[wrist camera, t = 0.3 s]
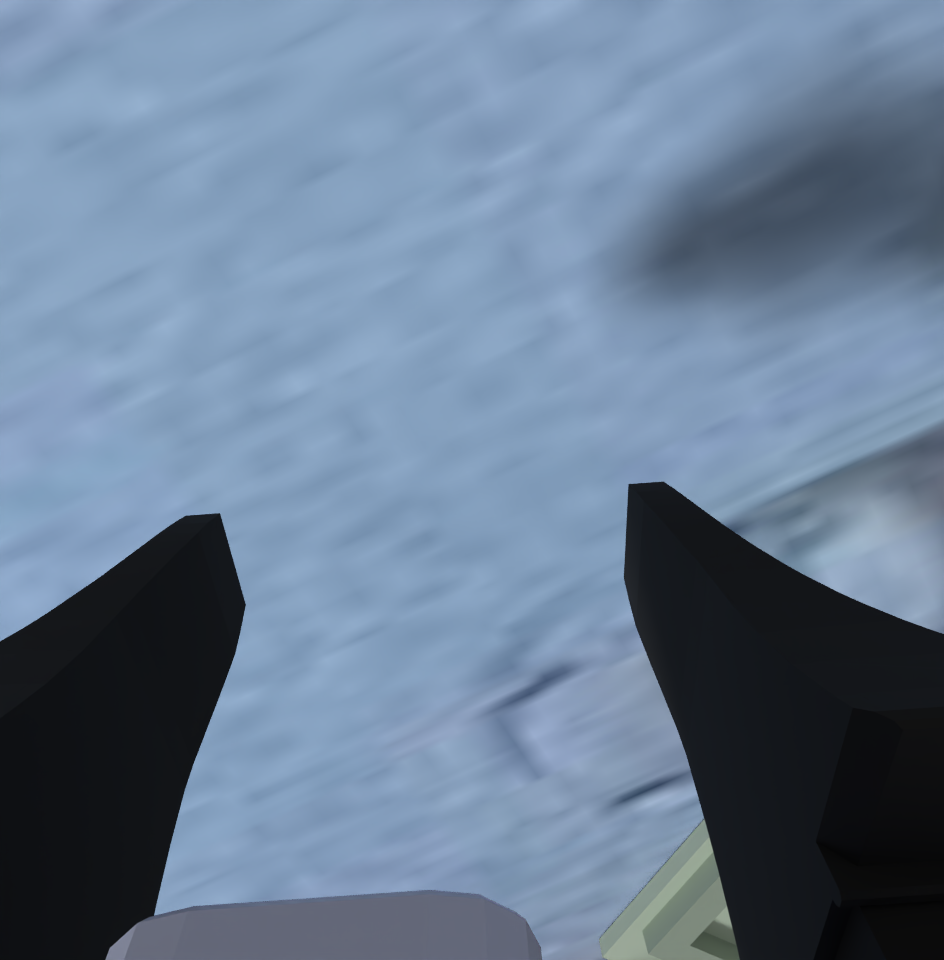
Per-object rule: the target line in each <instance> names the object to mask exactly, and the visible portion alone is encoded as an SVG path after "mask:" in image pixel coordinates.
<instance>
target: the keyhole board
mask: <svg viewBox="0 0 944 960" xmlns="http://www.w3.org/2000/svg"><path fill="white" fill-rule="evenodd" d="M599 942H600V947H601V953H602V957H603V958H605V959H608V960H740V959H739V954H738V950H737V945H736V941H735V937H734V933H733V929H732V925H731V921H730V917H729V912H728V908H727V904H726V900H725V896H724V892H723V888H722V884H721V880H720V876H719V872H718V868H717V864H716V860H715V857H714V853H713V849H712V845H711V842H710V838H709V834H708V830H707V827H706V823H705V819H704V820H703V821H702V822H701V823H700V824H699V826H698V827H697V828H696V829H695V830H694V831H693V832H692V834H691V835H690V836H689V837H688V838H687V839H686V840H685V842H684V843H683V844H682V845H681V846H680V847H679V848H678V850H677V851H676V852H675V853H674V854H673V855H672V856H671V858H670V859H669V860H668V861H667V862H666V863H665V864H664V866H663V867H662V868H661V869H660V870H659V871H658V872H657V874H656V875H655V876H654V877H653V878H652V879H651V880H650V882H649V883H648V884H647V885H646V886H645V887H644V888H643V890H642V891H641V892H640V893H639V894H638V895H637V896H636V898H635V899H634V900H633V901H632V902H631V903H630V904H629V906H628V907H627V908H626V909H625V910H624V911H623V912H622V914H621V915H620V916H619V917H618V918H617V919H616V920H615V922H614V923H613V924H612V925H611V926H610V927H609V928H608V930H607V931H606V932H605V933H604V934H603V935H602V936H601V938H600V939H599Z"/></svg>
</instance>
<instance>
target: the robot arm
mask: <svg viewBox="0 0 944 960" xmlns="http://www.w3.org/2000/svg"><path fill="white" fill-rule="evenodd" d="M624 581H625V585H626V589H627V593H628V597H629V602H630V606H631V609H632V613H633V617H634V621H635V625H636V628H637V630H638V633H639V635H640V638H641V641H642V643H643V646H644V648H645V651H646V653H647V656H648V658H649V661H650V663H651V666H652V668H653V671H654V673H655V675H656V678H657V680H658V683H659V685H660V688H661V690H662V693H663V695H664V698H665V700H666V703H667V705H668V708H669V710H670V712H671V715H672V717H673V720H674V722H675V725H676V727H677V730H678V732H679V735H680V738H681V741H682V744H683V747H684V749H685V752H686V755H687V759H688V762H689V766H690V769H691V773H692V776H693V780H694V783H695V787H696V790H697V794H698V797H699V801H700V804H701V808H702V812H703V815H704V819H705V823H706V827H707V830H708V834H709V838H710V842H711V845H712V849H713V853H714V857H715V860H716V864H717V868H718V872H719V876H720V880H721V884H722V888H723V892H724V896H725V900H726V904H727V908H728V912H729V917H730V921H731V925H732V929H733V933H734V937H735V941H736V945H737V950H738V954H739V959H740V960H944V634H942V633H939V632H936V631H933V630H930V629H927V628H924V627H922V626H919V625H916V624H913V623H911V622H908V621H905V620H902V619H900V618H897V617H895V616H893V615H890V614H888V613H885V612H883V611H880V610H878V609H875V608H873V607H871V606H868V605H866V604H863V603H861V602H859V601H856V600H854V599H852V598H850V597H848V596H845V595H843V594H841V593H839V592H837V591H835V590H833V589H831V588H829V587H827V586H825V585H823V584H821V583H819V582H817V581H815V580H813V579H811V578H809V577H807V576H805V575H803V574H801V573H800V572H798V571H796V570H794V569H792V568H791V567H789V566H787V565H785V564H784V563H782V562H780V561H779V560H777V559H775V558H774V557H772V556H770V555H769V554H767V553H765V552H764V551H762V550H761V549H759V548H757V547H756V546H754V545H753V544H751V543H750V542H748V541H747V540H745V539H743V538H742V537H741V536H739V535H738V534H736V533H735V532H733V531H732V530H730V529H729V528H727V527H726V526H725V525H723V524H722V523H720V522H719V521H717V520H716V519H715V518H713V517H712V516H710V515H709V514H708V513H706V512H705V511H704V510H702V509H701V508H700V507H698V506H697V505H695V504H694V503H693V502H691V501H690V500H689V499H687V498H686V497H685V496H683V495H682V494H681V493H679V492H678V491H676V490H675V489H674V488H672V487H671V486H669V485H668V484H666V483H665V482H652V483H638V484H629V487H628V507H627V527H626V547H625V567H624ZM245 606H246V604H245V601H244V597H243V594H242V590H241V587H240V583H239V580H238V576H237V572H236V569H235V565H234V562H233V558H232V555H231V551H230V547H229V544H228V540H227V537H226V533H225V530H224V526H223V523H222V519H221V515H220V513H218V514H204V515H190V516H185V517H183V518H181V519H179V520H178V521H176V522H175V523H173V524H172V525H170V526H169V527H167V528H166V529H164V530H163V531H162V532H160V533H159V534H158V535H156V536H155V537H153V538H152V539H151V540H149V541H148V542H147V543H145V544H144V545H143V546H141V547H140V548H139V549H137V550H136V551H135V552H133V553H132V554H131V555H129V556H128V557H127V558H125V559H124V560H122V561H121V562H120V563H118V564H117V565H116V566H114V567H113V568H112V569H110V570H109V571H108V572H106V573H105V574H104V575H102V576H101V577H99V578H98V579H97V580H95V581H94V582H92V583H91V584H89V585H88V586H86V587H85V588H84V589H82V590H81V591H79V592H78V593H76V594H75V595H73V596H72V597H70V598H69V599H67V600H66V601H64V602H63V603H62V604H60V605H59V606H57V607H56V608H54V609H53V610H51V611H50V612H48V613H47V614H45V615H44V616H42V617H40V618H39V619H37V620H36V621H34V622H33V623H31V624H29V625H28V626H26V627H24V628H23V629H21V630H19V631H18V632H16V633H14V634H12V635H11V636H9V637H7V638H5V639H4V640H2V641H0V960H542V955H541V947H540V945H539V943H538V942H537V940H536V938H535V936H534V934H533V932H532V930H531V929H530V927H529V925H528V923H527V921H526V919H525V918H523V917H522V916H520V915H519V914H518V913H516V912H515V911H512V910H510V909H508V908H506V907H504V906H502V905H500V904H498V903H496V902H494V901H492V900H490V899H488V898H486V897H484V896H482V895H480V894H471V893H459V892H447V891H436V890H422V891H408V892H393V893H379V894H364V895H350V896H335V897H321V898H306V899H292V900H277V901H263V902H248V903H234V904H220V905H205V906H193V907H189V908H185V909H181V910H176V911H172V912H168V913H164V914H160V915H156V916H154V913H155V908H156V903H157V899H158V895H159V891H160V886H161V882H162V878H163V874H164V869H165V865H166V861H167V857H168V852H169V848H170V844H171V840H172V836H173V833H174V829H175V825H176V821H177V817H178V813H179V810H180V806H181V802H182V798H183V794H184V791H185V788H186V785H187V782H188V779H189V776H190V772H191V769H192V766H193V764H194V761H195V758H196V756H197V753H198V751H199V748H200V745H201V743H202V740H203V738H204V735H205V732H206V730H207V727H208V725H209V722H210V719H211V717H212V714H213V712H214V709H215V706H216V704H217V701H218V699H219V696H220V693H221V691H222V688H223V685H224V683H225V680H226V677H227V675H228V672H229V669H230V667H231V664H232V661H233V658H234V655H235V652H236V648H237V643H238V639H239V635H240V631H241V626H242V621H243V616H244V611H245Z"/></svg>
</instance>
